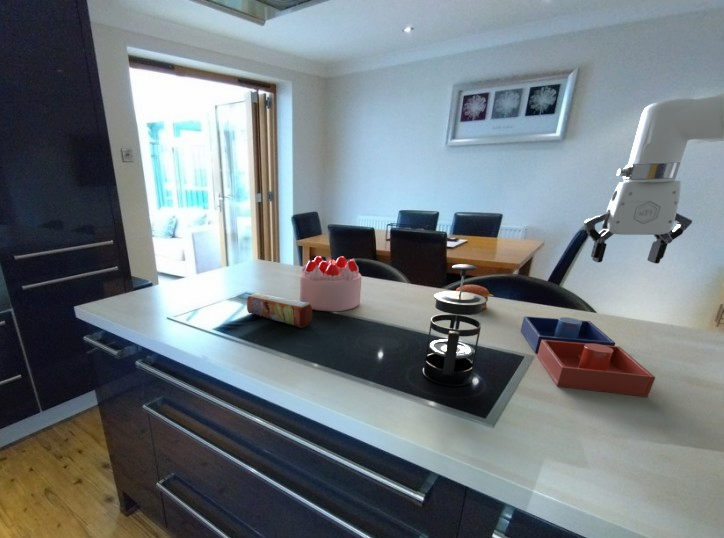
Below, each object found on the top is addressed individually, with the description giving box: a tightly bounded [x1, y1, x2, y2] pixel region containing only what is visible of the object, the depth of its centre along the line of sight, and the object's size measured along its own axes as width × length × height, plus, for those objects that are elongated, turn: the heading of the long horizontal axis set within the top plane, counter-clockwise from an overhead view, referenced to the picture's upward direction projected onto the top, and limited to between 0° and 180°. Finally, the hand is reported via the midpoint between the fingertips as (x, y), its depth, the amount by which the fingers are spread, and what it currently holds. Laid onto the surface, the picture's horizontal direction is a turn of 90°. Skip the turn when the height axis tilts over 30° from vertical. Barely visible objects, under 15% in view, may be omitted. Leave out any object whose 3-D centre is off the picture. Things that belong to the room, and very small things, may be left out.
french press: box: [422, 263, 487, 388], centre depth 75 cm, size 12×9×23 cm
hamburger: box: [455, 284, 495, 311], centre depth 120 cm, size 9×10×7 cm
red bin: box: [537, 340, 656, 398], centre depth 78 cm, size 14×14×4 cm
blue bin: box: [520, 315, 616, 354], centre depth 92 cm, size 14×14×4 cm
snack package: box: [246, 292, 313, 329], centre depth 113 cm, size 21×7×7 cm, turn 48°
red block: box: [577, 343, 613, 371], centre depth 78 cm, size 9×4×6 cm, turn 161°
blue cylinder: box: [554, 316, 583, 339], centre depth 92 cm, size 9×4×6 cm, turn 161°
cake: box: [299, 255, 362, 312], centre depth 125 cm, size 20×20×14 cm
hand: (624, 261), depth 82 cm, fingers open, 9 cm apart
